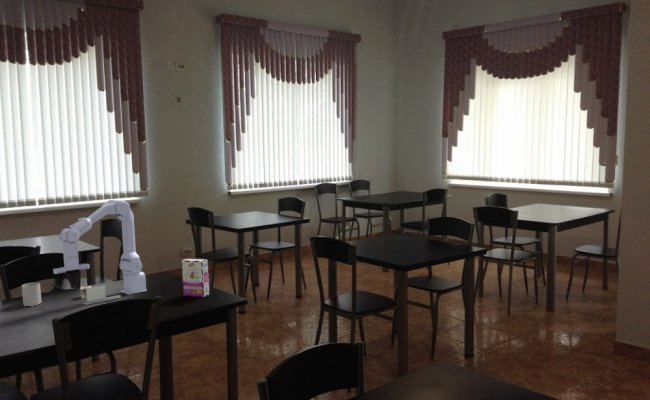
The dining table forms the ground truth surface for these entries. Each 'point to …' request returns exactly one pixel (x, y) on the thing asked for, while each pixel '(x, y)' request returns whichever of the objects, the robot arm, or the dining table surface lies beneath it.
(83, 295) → the letter block
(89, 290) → the grey flat block
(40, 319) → the dining table surface
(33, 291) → the cup
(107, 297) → the rail
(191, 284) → the candy bar box
